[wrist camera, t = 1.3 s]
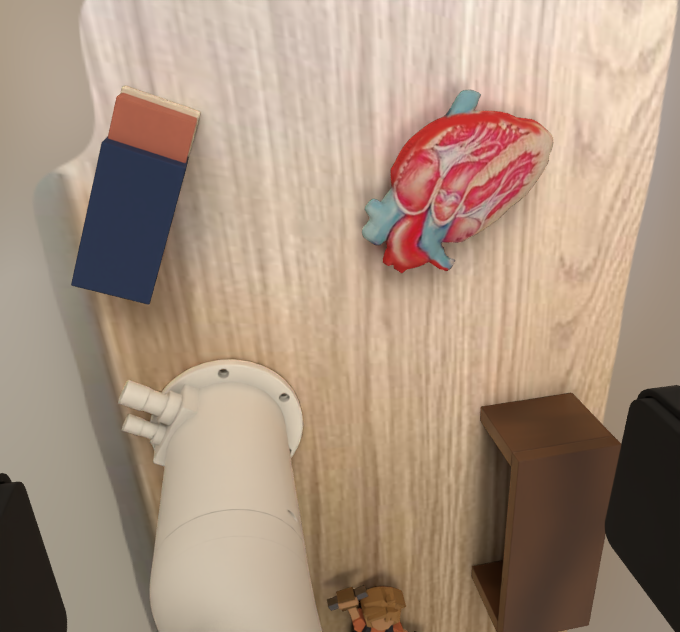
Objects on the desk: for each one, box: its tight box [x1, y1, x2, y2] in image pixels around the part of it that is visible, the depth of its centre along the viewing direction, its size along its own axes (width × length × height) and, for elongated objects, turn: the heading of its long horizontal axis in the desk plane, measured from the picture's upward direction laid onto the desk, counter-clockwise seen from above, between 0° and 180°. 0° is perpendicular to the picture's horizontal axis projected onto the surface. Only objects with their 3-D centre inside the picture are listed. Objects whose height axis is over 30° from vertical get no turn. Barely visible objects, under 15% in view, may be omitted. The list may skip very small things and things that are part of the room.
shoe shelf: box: [472, 393, 621, 632], centre depth 58 cm, size 9×22×8 cm, turn 3°
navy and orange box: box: [71, 86, 200, 304], centre depth 40 cm, size 13×5×5 cm, turn 160°
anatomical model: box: [362, 90, 553, 273], centre depth 44 cm, size 9×15×4 cm, turn 137°
